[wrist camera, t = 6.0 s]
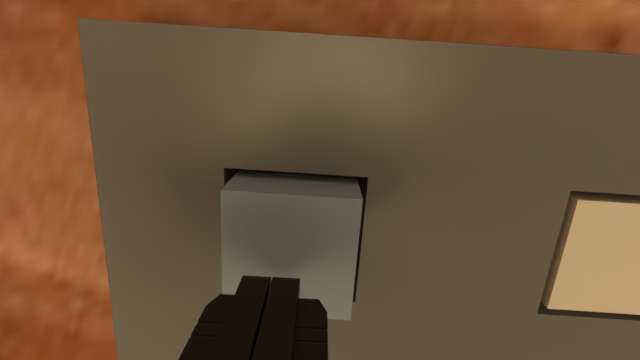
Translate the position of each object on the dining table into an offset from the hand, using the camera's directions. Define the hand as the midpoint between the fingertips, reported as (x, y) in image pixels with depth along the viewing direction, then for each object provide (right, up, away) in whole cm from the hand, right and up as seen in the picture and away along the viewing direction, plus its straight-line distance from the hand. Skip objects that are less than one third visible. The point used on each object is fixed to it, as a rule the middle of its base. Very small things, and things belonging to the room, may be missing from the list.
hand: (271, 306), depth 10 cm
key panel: (+6, +2, +7) cm, 10 cm away
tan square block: (+12, +1, +6) cm, 14 cm away
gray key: (0, +1, +4) cm, 5 cm away
